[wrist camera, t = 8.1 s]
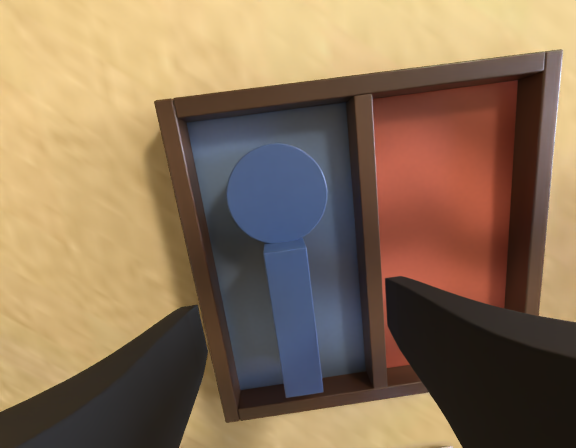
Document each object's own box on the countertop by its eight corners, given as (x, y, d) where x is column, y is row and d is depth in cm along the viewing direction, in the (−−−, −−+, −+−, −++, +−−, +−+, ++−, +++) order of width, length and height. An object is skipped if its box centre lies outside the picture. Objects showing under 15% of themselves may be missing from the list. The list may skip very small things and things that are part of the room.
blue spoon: (336, 346, 16) (351, 388, 13) (261, 357, 16) (258, 402, 13) (315, 139, 13) (328, 133, 10) (224, 151, 13) (210, 149, 10)
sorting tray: (503, 351, 17) (533, 376, 15) (231, 392, 17) (225, 423, 15) (520, 65, 14) (564, 48, 12) (171, 109, 13) (152, 100, 11)
